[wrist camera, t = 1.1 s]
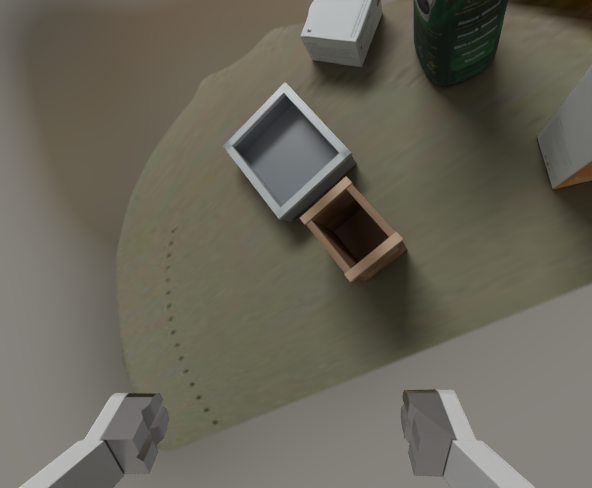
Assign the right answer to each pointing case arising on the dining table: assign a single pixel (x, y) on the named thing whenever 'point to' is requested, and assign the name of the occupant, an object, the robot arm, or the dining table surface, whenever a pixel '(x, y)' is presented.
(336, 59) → the small box
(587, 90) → the small box
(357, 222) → the walnut crate
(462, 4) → the coffee jar
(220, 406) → the dining table surface
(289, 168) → the tray
